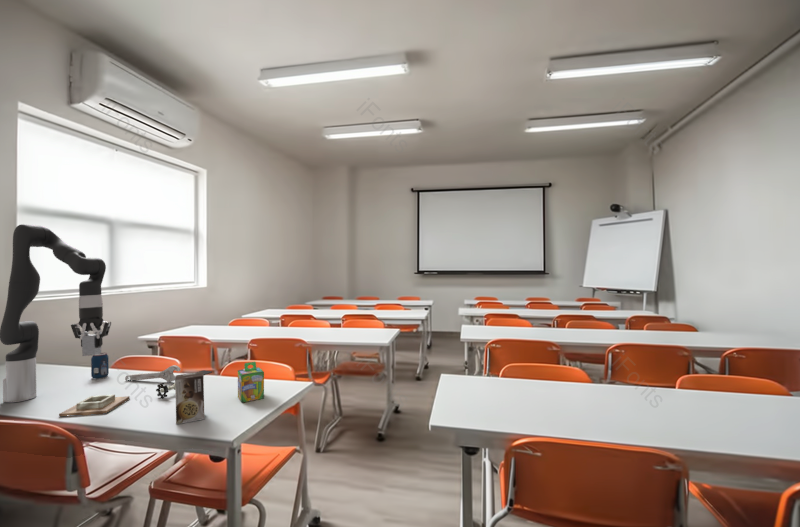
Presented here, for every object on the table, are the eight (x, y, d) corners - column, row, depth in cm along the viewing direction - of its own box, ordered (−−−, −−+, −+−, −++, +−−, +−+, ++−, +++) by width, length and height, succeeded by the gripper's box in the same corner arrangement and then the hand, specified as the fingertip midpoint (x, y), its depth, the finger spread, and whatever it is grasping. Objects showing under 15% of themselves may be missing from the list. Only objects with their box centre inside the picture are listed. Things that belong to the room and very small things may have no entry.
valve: (181, 389, 171) (155, 397, 160) (181, 374, 171) (155, 382, 160) (191, 390, 169) (166, 399, 157) (191, 376, 169) (166, 384, 157)
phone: (213, 371, 198) (187, 379, 184) (213, 373, 198) (187, 381, 184) (203, 370, 201) (177, 377, 187) (203, 371, 201) (177, 379, 187)
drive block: (82, 356, 151) (81, 336, 151) (89, 353, 155) (88, 334, 155) (94, 355, 151) (94, 335, 152) (101, 352, 156) (100, 333, 156)
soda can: (96, 375, 194) (96, 352, 194) (111, 375, 195) (111, 352, 195) (88, 379, 187) (87, 355, 187) (103, 378, 188) (103, 355, 189)
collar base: (59, 417, 140) (59, 408, 140) (87, 401, 156) (87, 393, 156) (106, 413, 143) (106, 404, 143) (129, 399, 158) (129, 391, 158)
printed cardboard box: (204, 413, 141) (203, 371, 142) (204, 419, 136) (204, 375, 136) (176, 418, 137) (175, 374, 137) (175, 424, 131) (174, 379, 132)
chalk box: (241, 403, 152) (241, 366, 152) (237, 397, 159) (236, 362, 159) (264, 398, 157) (264, 363, 157) (259, 392, 164) (259, 359, 165)
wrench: (129, 386, 186) (182, 381, 181) (125, 387, 184) (179, 382, 179) (127, 369, 186) (180, 364, 182) (124, 370, 184) (177, 365, 180)
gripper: (64, 308, 148) (65, 351, 148) (104, 306, 151) (106, 348, 151) (77, 306, 156) (78, 347, 156) (115, 304, 158) (116, 344, 158)
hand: (92, 347), depth 153 cm, fingers closed on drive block, 4 cm apart
